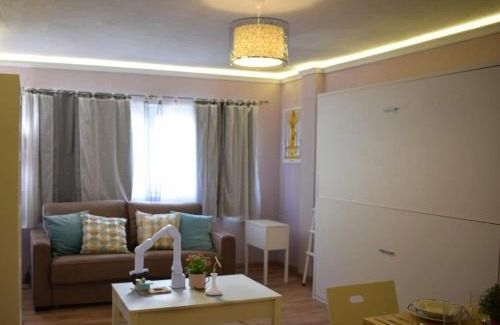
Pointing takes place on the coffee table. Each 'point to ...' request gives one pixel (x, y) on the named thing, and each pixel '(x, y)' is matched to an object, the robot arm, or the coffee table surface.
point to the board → (154, 291)
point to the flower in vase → (214, 283)
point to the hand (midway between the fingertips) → (138, 283)
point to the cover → (144, 284)
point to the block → (137, 283)
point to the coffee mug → (208, 278)
